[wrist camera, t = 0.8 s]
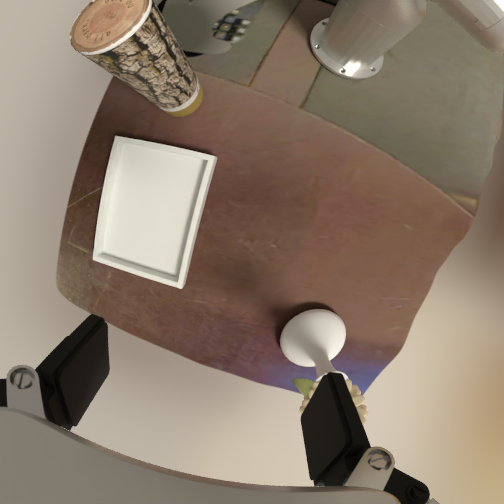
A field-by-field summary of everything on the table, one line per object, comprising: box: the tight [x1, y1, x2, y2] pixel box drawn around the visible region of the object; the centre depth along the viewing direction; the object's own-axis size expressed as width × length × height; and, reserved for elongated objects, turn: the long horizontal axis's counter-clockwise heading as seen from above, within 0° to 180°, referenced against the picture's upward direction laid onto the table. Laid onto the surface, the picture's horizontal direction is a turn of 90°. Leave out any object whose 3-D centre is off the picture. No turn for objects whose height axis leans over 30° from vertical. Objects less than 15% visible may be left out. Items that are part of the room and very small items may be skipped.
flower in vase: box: [280, 309, 368, 425], centre depth 33 cm, size 13×11×25 cm
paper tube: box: [70, 0, 203, 117], centre depth 24 cm, size 7×7×25 cm
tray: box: [93, 136, 217, 289], centre depth 39 cm, size 20×16×2 cm
